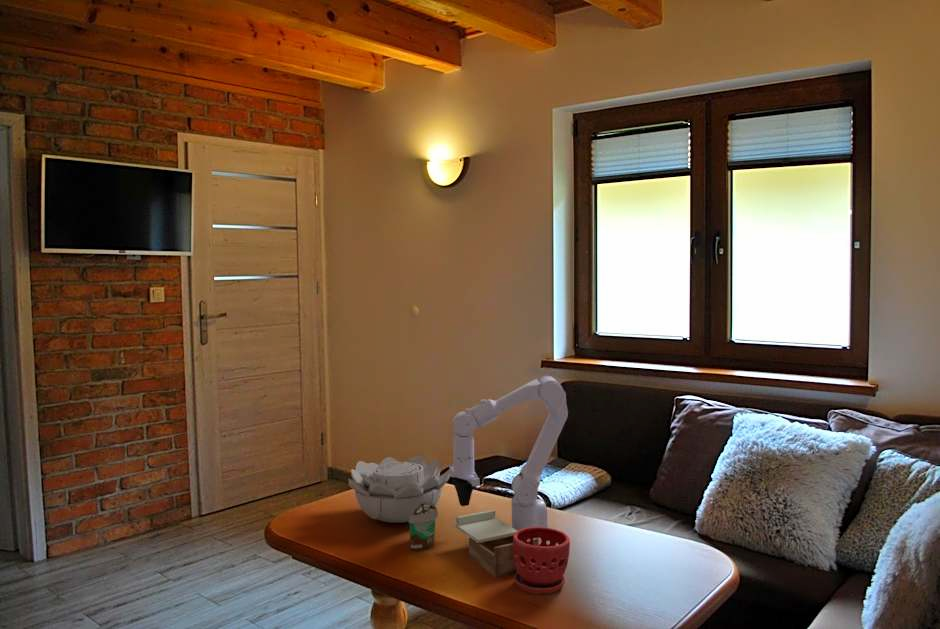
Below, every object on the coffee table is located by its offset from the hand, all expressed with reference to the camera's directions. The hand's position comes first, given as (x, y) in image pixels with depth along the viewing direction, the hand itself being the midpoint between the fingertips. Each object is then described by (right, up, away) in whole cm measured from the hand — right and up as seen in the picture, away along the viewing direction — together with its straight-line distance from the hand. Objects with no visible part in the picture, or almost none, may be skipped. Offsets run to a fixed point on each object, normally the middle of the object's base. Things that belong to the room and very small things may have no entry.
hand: (464, 505), depth 204 cm
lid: (+6, -4, -11) cm, 13 cm away
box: (+10, -10, -18) cm, 23 cm away
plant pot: (+18, -11, -32) cm, 38 cm away
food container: (-10, -9, -6) cm, 15 cm away
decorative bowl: (-20, -8, +16) cm, 27 cm away
